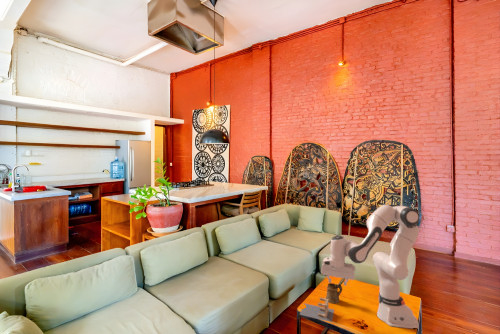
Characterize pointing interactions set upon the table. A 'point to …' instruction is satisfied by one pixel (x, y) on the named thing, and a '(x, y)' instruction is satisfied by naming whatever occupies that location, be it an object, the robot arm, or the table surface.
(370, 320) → the table surface
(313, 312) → the mat
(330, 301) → the wooden mug
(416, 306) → the table surface
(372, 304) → the table surface
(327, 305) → the stool
